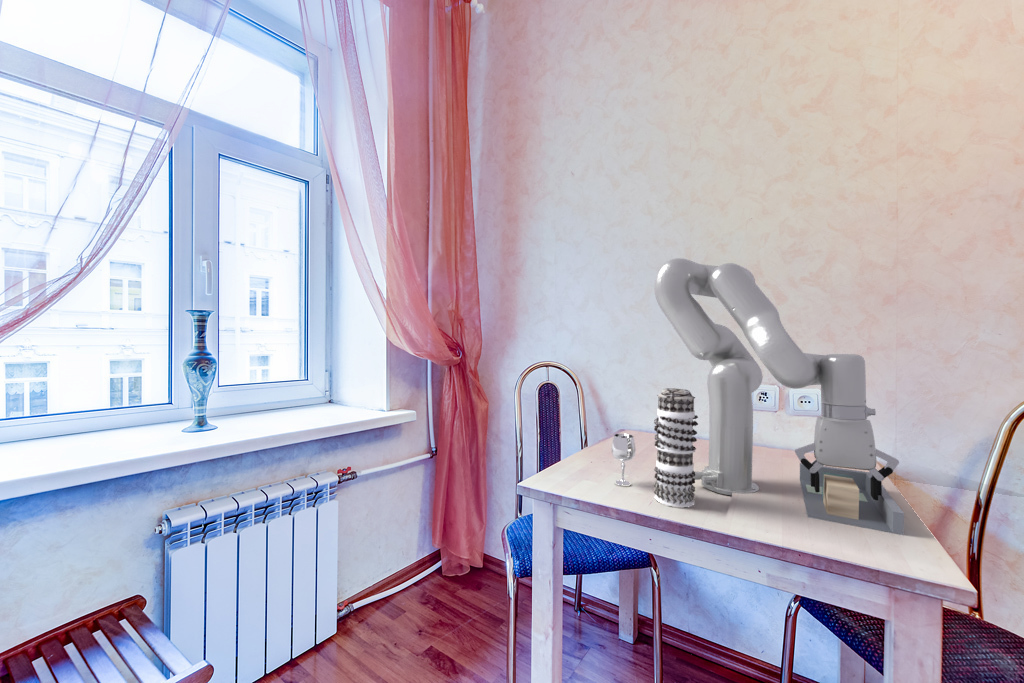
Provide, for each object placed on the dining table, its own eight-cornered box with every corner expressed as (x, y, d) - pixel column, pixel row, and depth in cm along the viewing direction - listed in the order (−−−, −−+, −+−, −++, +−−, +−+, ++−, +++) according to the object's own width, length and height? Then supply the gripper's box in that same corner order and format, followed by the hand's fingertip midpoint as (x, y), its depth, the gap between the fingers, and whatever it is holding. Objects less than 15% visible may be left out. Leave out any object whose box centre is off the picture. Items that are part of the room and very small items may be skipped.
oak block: (858, 519, 85) (859, 489, 85) (827, 514, 88) (828, 484, 88) (850, 503, 94) (851, 475, 94) (822, 498, 97) (822, 471, 97)
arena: (903, 540, 79) (904, 513, 79) (807, 521, 86) (808, 497, 86) (872, 493, 103) (872, 472, 103) (799, 482, 110) (799, 462, 110)
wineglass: (609, 485, 106) (610, 437, 106) (612, 478, 111) (613, 432, 111) (633, 489, 104) (634, 439, 104) (636, 481, 109) (636, 434, 109)
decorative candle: (705, 507, 93) (708, 392, 93) (667, 510, 91) (669, 392, 91) (680, 492, 102) (682, 386, 102) (645, 494, 100) (647, 387, 100)
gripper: (892, 413, 89) (894, 495, 89) (793, 407, 98) (794, 483, 98) (902, 418, 83) (904, 507, 83) (795, 412, 92) (796, 492, 92)
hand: (844, 494), depth 90 cm, fingers open, 9 cm apart
